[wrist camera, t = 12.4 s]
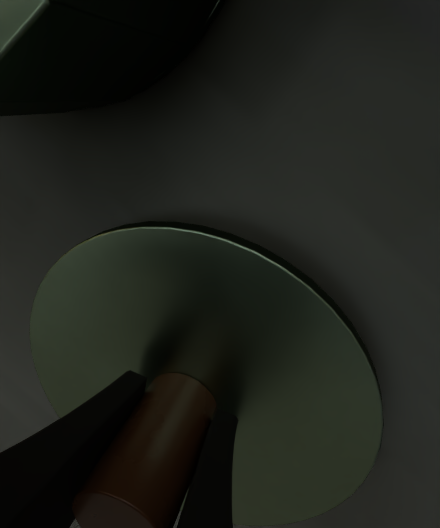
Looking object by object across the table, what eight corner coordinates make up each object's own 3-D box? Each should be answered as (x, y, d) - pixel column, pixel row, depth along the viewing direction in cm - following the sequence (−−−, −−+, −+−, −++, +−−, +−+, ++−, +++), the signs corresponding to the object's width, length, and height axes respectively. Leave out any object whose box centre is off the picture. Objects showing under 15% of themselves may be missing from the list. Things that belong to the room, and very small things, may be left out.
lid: (301, 540, 15) (283, 733, 10) (49, 419, 17) (-58, 537, 12) (464, 303, 9) (582, 505, 4) (51, 161, 11) (-149, 205, 6)
